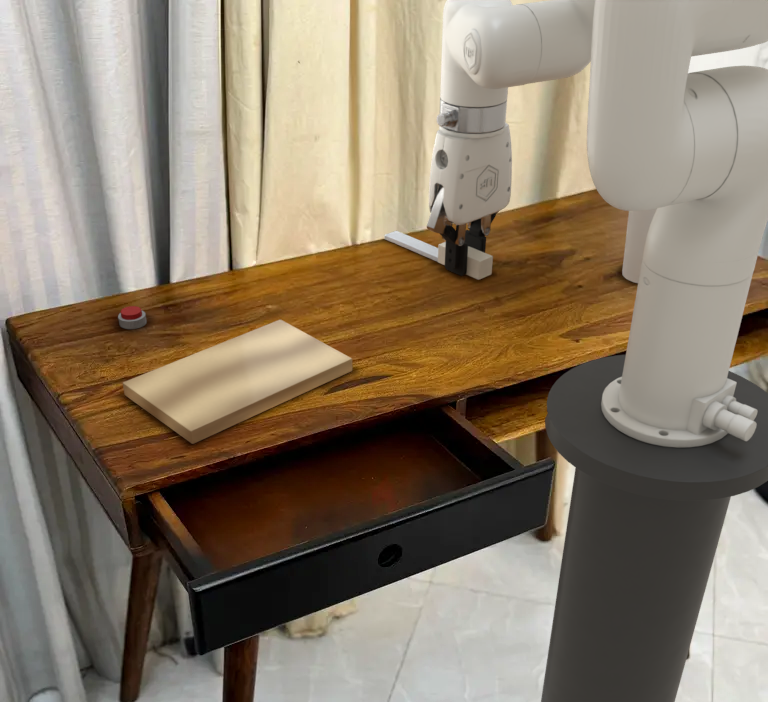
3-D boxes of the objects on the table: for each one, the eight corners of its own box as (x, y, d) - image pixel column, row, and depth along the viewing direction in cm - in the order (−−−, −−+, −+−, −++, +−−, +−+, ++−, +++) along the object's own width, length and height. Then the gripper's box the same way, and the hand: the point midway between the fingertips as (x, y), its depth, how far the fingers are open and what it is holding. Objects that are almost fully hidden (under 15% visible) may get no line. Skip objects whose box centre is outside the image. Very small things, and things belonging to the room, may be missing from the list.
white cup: (669, 290, 118) (685, 208, 112) (613, 281, 120) (626, 200, 113) (676, 267, 123) (692, 188, 116) (623, 260, 124) (635, 181, 118)
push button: (141, 330, 110) (139, 317, 109) (115, 327, 110) (113, 315, 109) (150, 317, 112) (148, 305, 111) (125, 315, 112) (123, 303, 112)
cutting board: (352, 371, 103) (352, 358, 102) (192, 444, 92) (190, 431, 91) (281, 331, 110) (280, 319, 109) (124, 395, 99) (122, 382, 98)
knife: (491, 274, 121) (493, 255, 120) (478, 280, 120) (479, 261, 118) (396, 234, 131) (396, 216, 130) (383, 239, 130) (383, 221, 128)
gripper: (446, 138, 105) (440, 297, 116) (544, 108, 113) (529, 259, 125) (398, 122, 109) (396, 277, 120) (495, 94, 118) (485, 241, 129)
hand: (464, 267), depth 122 cm, fingers closed
